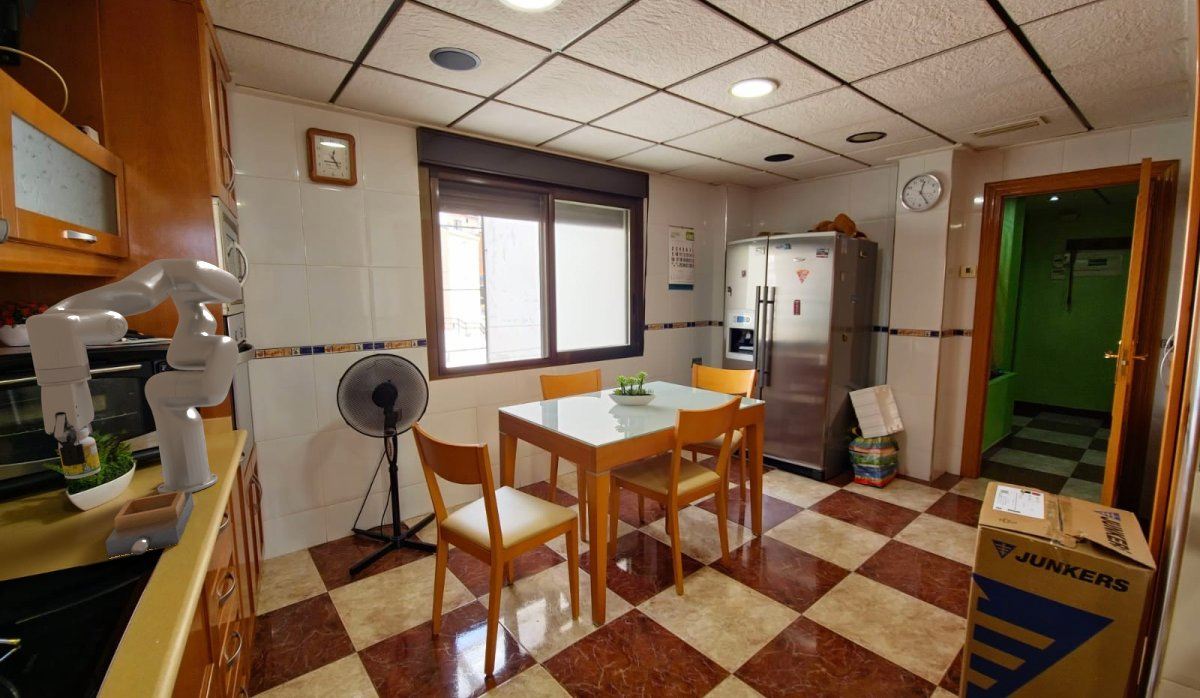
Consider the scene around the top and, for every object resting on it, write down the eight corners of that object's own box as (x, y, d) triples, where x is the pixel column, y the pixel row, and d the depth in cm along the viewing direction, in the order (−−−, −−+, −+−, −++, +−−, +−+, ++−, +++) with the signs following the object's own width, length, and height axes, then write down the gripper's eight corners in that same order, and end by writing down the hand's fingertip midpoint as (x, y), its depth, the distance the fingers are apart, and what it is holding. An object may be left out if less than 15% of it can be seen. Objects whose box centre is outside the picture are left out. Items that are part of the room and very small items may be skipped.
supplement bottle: (106, 467, 109) (98, 424, 107) (93, 476, 104) (85, 432, 102) (73, 471, 107) (64, 428, 105) (58, 481, 102) (49, 436, 100)
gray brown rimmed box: (134, 518, 118) (130, 492, 117) (193, 506, 124) (190, 481, 123) (104, 567, 99) (98, 537, 98) (175, 551, 105) (171, 522, 103)
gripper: (55, 368, 107) (71, 449, 110) (16, 385, 92) (36, 478, 96) (103, 365, 111) (117, 443, 114) (73, 380, 96) (90, 469, 99)
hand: (80, 458), depth 105 cm, fingers closed on supplement bottle, 5 cm apart
